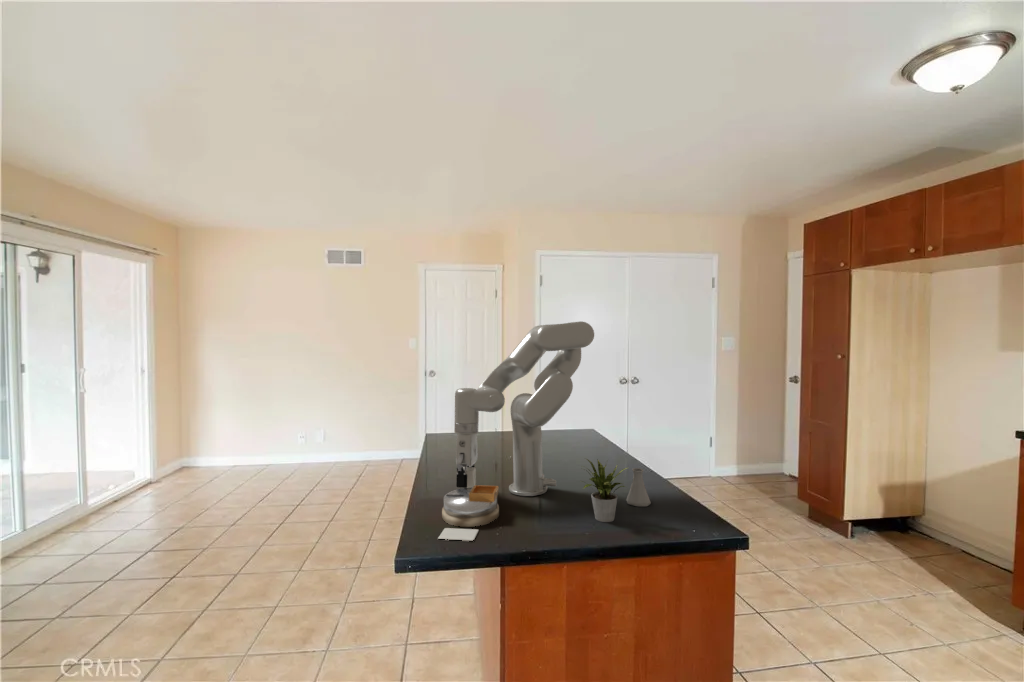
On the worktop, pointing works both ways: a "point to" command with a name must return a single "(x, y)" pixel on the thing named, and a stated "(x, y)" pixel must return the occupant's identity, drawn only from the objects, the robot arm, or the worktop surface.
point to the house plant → (603, 493)
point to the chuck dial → (471, 501)
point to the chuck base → (470, 519)
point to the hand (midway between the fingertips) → (465, 482)
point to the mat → (458, 534)
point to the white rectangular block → (471, 476)
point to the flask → (638, 490)
